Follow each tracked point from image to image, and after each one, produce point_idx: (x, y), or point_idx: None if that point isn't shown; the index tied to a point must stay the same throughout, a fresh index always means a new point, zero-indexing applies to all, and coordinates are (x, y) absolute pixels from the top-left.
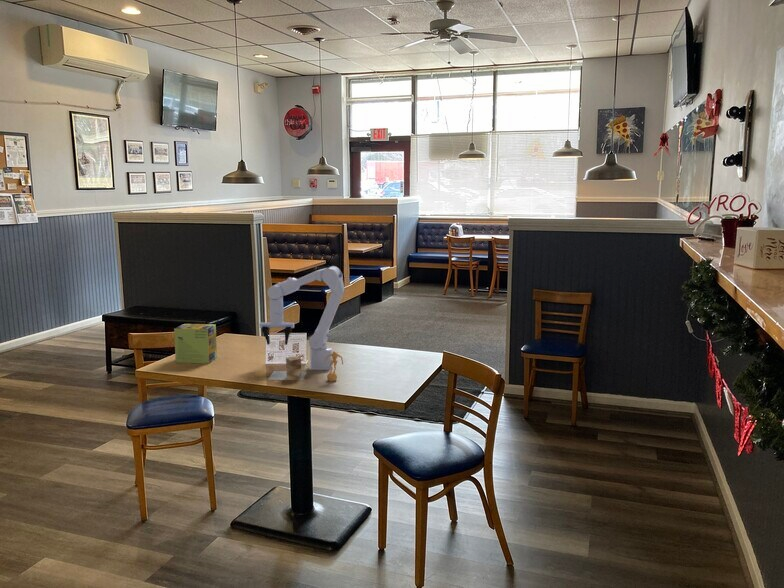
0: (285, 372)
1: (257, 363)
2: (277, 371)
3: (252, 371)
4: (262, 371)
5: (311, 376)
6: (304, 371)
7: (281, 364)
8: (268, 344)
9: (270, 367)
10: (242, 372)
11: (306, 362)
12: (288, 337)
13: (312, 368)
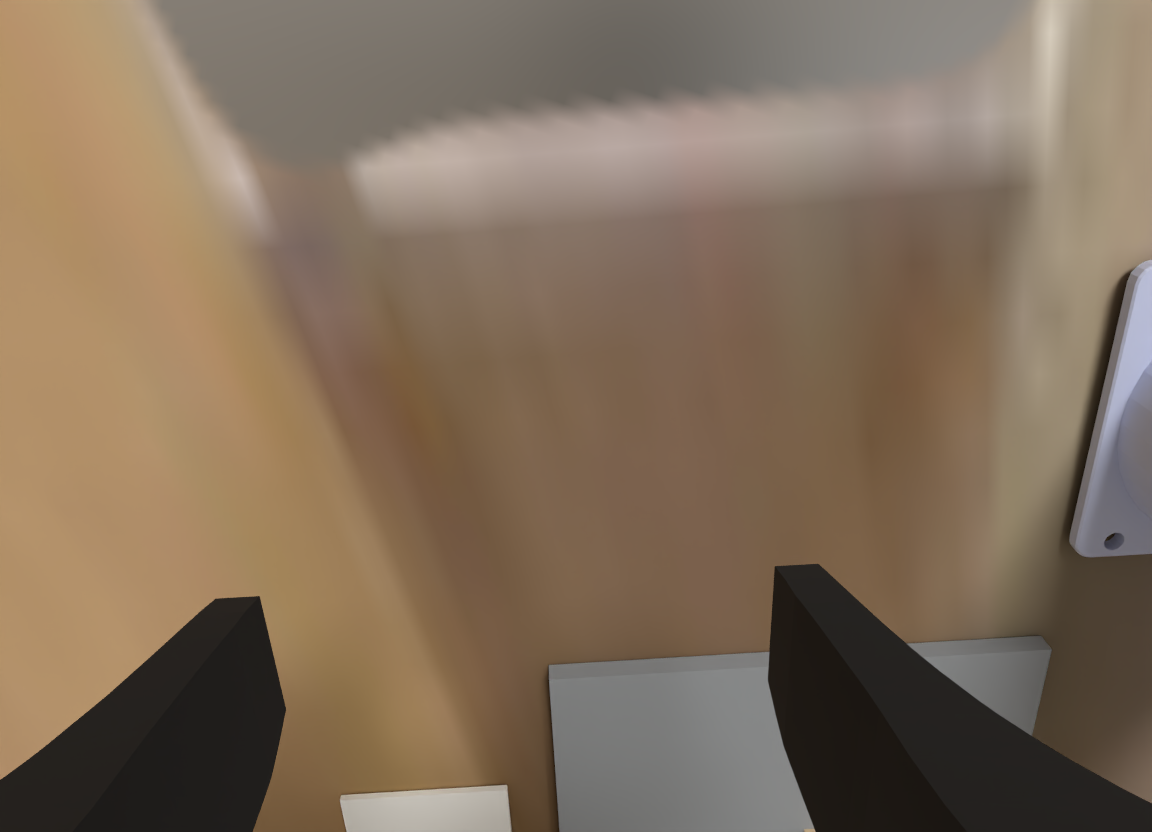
0: (736, 718)
1: (59, 202)
2: (610, 691)
3: None
4: (362, 634)
5: (1089, 759)
6: (1010, 659)
7: (560, 233)
8: (278, 714)
9: (414, 433)
10: (85, 699)
11: (1047, 42)
12: (932, 677)
13: (1142, 512)
